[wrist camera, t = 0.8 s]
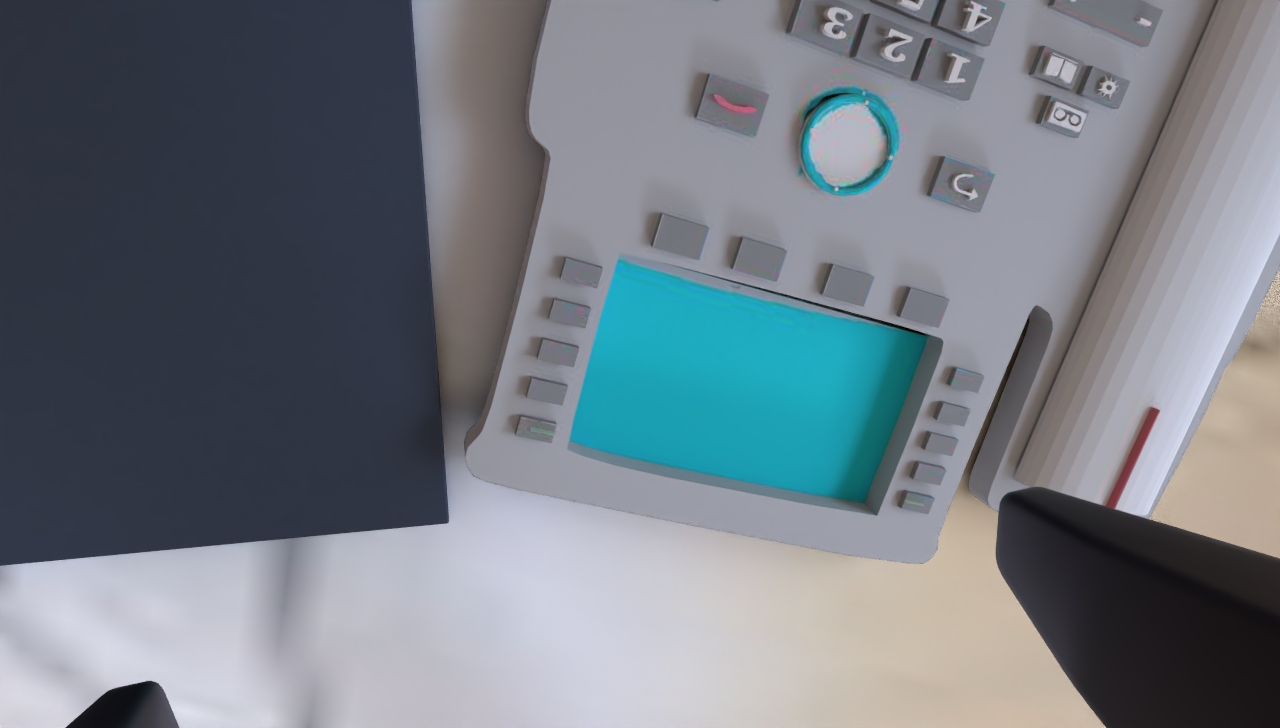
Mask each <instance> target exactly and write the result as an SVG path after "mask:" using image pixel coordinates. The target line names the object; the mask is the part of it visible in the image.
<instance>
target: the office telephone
mask: <svg viewBox="0 0 1280 728" xmlns="http://www.w3.org/2000/svg"><path fill="white" fill-rule="evenodd" d="M833 94H837V95H839V96H837V97H834V98H824V97H825V96H829V95H833ZM823 98H824V99H823ZM525 122H526V127H527V131H528V132H529V134H530V136H531V137H532V138H533V139H534V140H535V141H536V142H537V143H538V144H539V145H540V146H542V147H543V148H544V151H545V155H546V156H545V162H544V168H543V174H542V179H541V185H540V191H539V196H538V200H537V204H536V209H535V213H534V217H533V221H532V225H531V230H530V234H529V238H528V242H527V246H526V251H525V255H524V259H523V263H522V267H521V272H520V276H519V280H518V284H517V289H516V292H515V296H514V300H513V304H512V308H511V312H510V315H509V319H508V323H507V327H506V331H505V334H504V338H503V342H502V346H501V350H500V353H499V357H498V361H497V365H496V369H495V372H494V376H493V380H492V384H491V388H490V391H489V395H488V398H487V400H486V403H485V406H484V409H483V412H482V414H481V416H480V418H479V419H478V421H477V422H476V423H475V424H474V425H473V426H472V427H471V428H470V429H469V430H468V432H467V433H466V436H465V440H464V449H465V459H466V465H467V468H468V470H469V471H470V472H471V473H472V475H473V476H474V477H476V478H479V479H481V480H483V481H485V482H489V483H493V484H497V485H501V486H505V487H509V488H513V489H517V490H521V491H526V492H531V493H536V494H540V495H545V496H550V497H555V498H560V499H565V500H570V501H574V502H579V503H584V504H589V505H594V506H599V507H604V508H608V509H613V510H618V511H623V512H628V513H633V514H638V515H642V516H647V517H652V518H657V519H662V520H667V521H672V522H677V523H682V524H687V525H692V526H697V527H703V528H708V529H713V530H718V531H723V532H729V533H734V534H739V535H744V536H750V537H755V538H760V539H765V540H770V541H776V542H781V543H786V544H791V545H797V546H802V547H807V548H812V549H817V550H823V551H828V552H833V553H838V554H843V555H849V556H857V557H864V558H872V559H879V560H887V561H894V562H902V563H912V564H923V563H925V562H927V561H929V560H930V559H931V558H932V557H933V556H934V555H935V553H936V551H937V549H938V538H939V535H940V532H941V529H942V526H943V523H944V520H945V517H946V515H947V512H948V510H949V507H950V505H951V502H952V500H953V497H954V495H955V492H956V490H957V487H958V485H959V482H960V480H961V477H962V475H963V472H964V470H965V467H966V465H967V462H968V460H969V457H970V455H971V452H972V450H973V448H974V445H975V443H976V440H977V438H978V435H979V433H980V430H981V428H982V426H983V423H984V421H985V418H986V416H987V414H988V411H989V409H990V407H991V404H992V402H993V399H994V397H995V395H996V392H997V390H998V388H999V385H1000V383H1001V380H1002V378H1003V376H1004V373H1005V371H1006V369H1007V366H1008V364H1009V361H1010V359H1011V357H1012V354H1013V352H1014V350H1015V347H1016V345H1017V342H1018V340H1019V338H1020V335H1021V333H1022V331H1023V328H1024V326H1025V323H1026V321H1027V319H1028V316H1029V324H1028V328H1027V331H1026V335H1025V337H1024V340H1023V343H1022V345H1021V348H1020V350H1019V353H1018V355H1017V358H1016V360H1015V363H1014V365H1013V368H1012V370H1011V373H1010V375H1009V378H1008V381H1007V383H1006V386H1005V388H1004V391H1003V393H1002V396H1001V398H1000V401H999V403H998V406H997V408H996V411H995V414H994V416H993V419H992V421H991V424H990V426H989V429H988V431H987V434H986V436H985V439H984V441H983V444H982V446H981V449H980V452H979V454H978V457H977V459H976V462H975V464H974V467H973V469H972V472H971V475H970V479H969V483H968V487H969V491H970V492H971V493H972V494H973V495H974V496H975V497H977V498H978V499H979V500H981V501H982V502H984V503H985V504H986V505H988V506H989V507H990V508H992V509H994V510H996V511H997V512H999V505H1000V501H1001V499H1002V497H1003V496H1004V495H1005V494H1006V493H1008V492H1012V491H1017V490H1021V489H1026V488H1030V487H1043V488H1047V489H1050V490H1054V491H1057V492H1060V493H1063V494H1067V495H1070V496H1073V497H1077V498H1080V499H1083V500H1087V501H1090V502H1093V503H1097V504H1100V505H1103V506H1107V507H1110V508H1113V509H1117V510H1120V511H1123V512H1127V513H1130V514H1133V515H1137V516H1140V517H1143V518H1147V519H1149V518H1150V516H1151V514H1152V512H1153V511H1154V509H1155V507H1156V505H1157V503H1158V501H1159V500H1160V498H1161V496H1162V494H1163V492H1164V490H1165V488H1166V487H1167V485H1168V483H1169V481H1170V479H1171V477H1172V475H1173V474H1174V472H1175V470H1176V468H1177V466H1178V464H1179V463H1180V461H1181V459H1182V457H1183V455H1184V453H1185V451H1186V449H1187V447H1188V445H1189V443H1190V441H1191V439H1192V437H1193V435H1194V433H1195V431H1196V429H1197V427H1198V425H1199V423H1200V421H1201V420H1202V418H1203V416H1204V414H1205V412H1206V410H1207V408H1208V405H1209V403H1210V401H1211V399H1212V397H1213V394H1214V392H1215V390H1216V388H1217V386H1218V383H1219V381H1220V379H1221V377H1222V374H1223V372H1224V370H1225V368H1226V367H1227V366H1228V365H1229V364H1230V363H1231V361H1232V360H1233V359H1234V357H1235V355H1236V353H1237V351H1238V349H1239V347H1240V345H1241V344H1242V342H1243V340H1244V338H1245V336H1246V334H1247V332H1248V330H1249V328H1250V326H1251V324H1252V322H1253V320H1254V318H1255V316H1256V314H1257V312H1258V310H1259V308H1260V306H1261V304H1262V302H1263V300H1264V298H1265V296H1266V294H1267V292H1268V290H1269V288H1270V286H1271V284H1272V282H1273V280H1274V278H1275V276H1276V274H1277V272H1278V270H1279V268H1280V0H547V3H546V8H545V12H544V16H543V20H542V24H541V28H540V33H539V37H538V41H537V45H536V49H535V53H534V57H533V62H532V68H531V74H530V80H529V87H528V93H527V99H526V106H525ZM693 270H694V271H693ZM697 271H698V272H697ZM701 272H702V273H701ZM704 273H705V274H704ZM708 274H709V275H708ZM711 275H713V276H711ZM715 276H717V277H715ZM718 277H721V278H718ZM722 278H725V279H722ZM726 279H728V280H726ZM729 280H732V281H729ZM733 281H736V282H740V283H744V284H748V285H751V286H755V287H759V288H763V289H767V290H771V291H774V292H778V293H782V294H786V295H790V296H793V297H797V298H801V299H804V300H808V301H812V302H815V303H819V304H823V305H827V306H830V307H834V308H838V309H841V310H845V311H849V312H852V313H856V314H860V315H863V316H867V317H871V318H874V319H878V320H882V321H885V322H889V323H893V324H896V325H899V326H903V327H906V328H909V329H913V330H916V331H919V332H923V333H924V335H922V334H918V333H915V332H911V331H907V330H904V329H900V328H897V327H893V326H890V325H886V324H883V323H879V322H875V321H872V320H868V319H865V318H861V317H858V316H854V315H850V314H847V313H843V312H840V311H836V310H833V309H829V308H825V307H822V306H818V305H815V304H811V303H808V302H804V301H800V300H797V299H793V298H790V297H786V296H783V295H779V294H776V293H772V292H768V291H765V290H761V289H758V288H754V287H751V286H747V285H743V284H740V283H736V282H733Z"/></svg>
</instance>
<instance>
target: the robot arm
mask: <svg viewBox="0 0 1280 728" xmlns="http://www.w3.org/2000/svg"><path fill="white" fill-rule="evenodd" d="M996 560H997V564H998V568H999V570H1000V572H1001V574H1002V576H1003V578H1004V580H1005V581H1006V583H1007V584H1008V586H1009V587H1010V589H1011V590H1012V592H1013V593H1014V595H1015V597H1016V598H1017V600H1018V601H1019V603H1020V604H1021V606H1022V607H1023V609H1024V610H1025V612H1026V614H1027V615H1028V617H1029V618H1030V620H1031V621H1032V623H1033V624H1034V626H1035V627H1036V629H1037V631H1038V632H1039V634H1040V635H1041V637H1042V638H1043V640H1044V641H1045V643H1046V644H1047V646H1048V648H1049V649H1050V651H1051V652H1052V654H1053V655H1054V657H1055V658H1056V660H1057V662H1058V663H1059V665H1060V666H1061V668H1062V669H1063V671H1064V672H1065V674H1066V675H1067V676H1068V678H1069V679H1070V681H1071V682H1072V684H1073V685H1074V687H1075V688H1076V689H1077V691H1078V692H1079V693H1080V695H1081V696H1082V697H1083V698H1084V700H1085V701H1086V702H1087V704H1088V705H1089V706H1090V708H1091V709H1092V710H1093V711H1094V713H1095V714H1096V715H1097V716H1098V718H1099V719H1100V720H1101V722H1102V723H1103V724H1104V725H1105V727H1106V728H1280V559H1279V558H1276V557H1273V556H1269V555H1266V554H1263V553H1259V552H1256V551H1253V550H1249V549H1246V548H1243V547H1240V546H1236V545H1233V544H1230V543H1226V542H1223V541H1220V540H1216V539H1213V538H1210V537H1206V536H1203V535H1200V534H1196V533H1193V532H1190V531H1186V530H1183V529H1180V528H1176V527H1173V526H1170V525H1166V524H1163V523H1160V522H1156V521H1153V520H1150V519H1147V518H1143V517H1140V516H1137V515H1133V514H1130V513H1127V512H1123V511H1120V510H1117V509H1113V508H1110V507H1107V506H1103V505H1100V504H1097V503H1093V502H1090V501H1087V500H1083V499H1080V498H1077V497H1073V496H1070V495H1067V494H1063V493H1060V492H1057V491H1054V490H1050V489H1047V488H1043V487H1030V488H1026V489H1021V490H1017V491H1012V492H1008V493H1006V494H1005V495H1004V496H1003V497H1002V499H1001V501H1000V505H999V515H998V528H997V542H996ZM66 728H179V726H178V723H177V721H176V719H175V716H174V714H173V711H172V709H171V707H170V704H169V702H168V699H167V697H166V694H165V692H164V690H163V689H162V687H161V686H160V685H159V684H158V683H156V682H153V681H146V682H141V683H137V684H132V685H127V686H123V687H118V688H115V689H112V690H109V691H107V692H106V693H105V694H104V695H102V696H101V697H100V698H99V699H98V700H97V701H95V702H94V703H93V704H92V705H91V706H90V707H89V708H87V709H86V710H85V711H84V712H83V713H82V714H81V715H79V716H78V717H77V718H76V719H75V720H74V721H73V722H71V723H70V724H69V725H68V726H67V727H66Z"/></svg>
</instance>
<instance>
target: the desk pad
mask: <svg viewBox="0 0 1280 728" xmlns="http://www.w3.org/2000/svg"><path fill="white" fill-rule="evenodd" d="M448 522H449V514H448V500H447V486H446V472H445V459H444V445H443V431H442V417H441V404H440V390H439V376H438V362H437V349H436V335H435V321H434V307H433V294H432V280H431V266H430V252H429V239H428V225H427V211H426V197H425V184H424V170H423V156H422V142H421V128H420V115H419V101H418V87H417V73H416V60H415V46H414V32H413V18H412V5H411V0H0V566H2V565H12V564H23V563H33V562H44V561H55V560H65V559H76V558H86V557H97V556H107V555H118V554H128V553H139V552H149V551H160V550H170V549H181V548H192V547H202V546H213V545H223V544H234V543H244V542H255V541H265V540H276V539H286V538H297V537H308V536H318V535H329V534H339V533H350V532H360V531H371V530H381V529H392V528H402V527H413V526H423V525H434V524H445V523H448Z"/></svg>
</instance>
